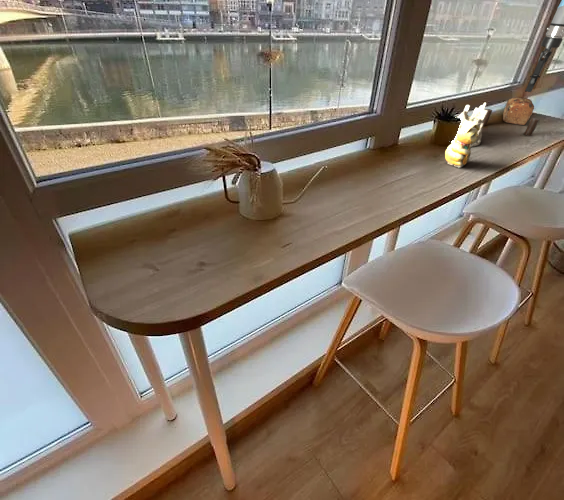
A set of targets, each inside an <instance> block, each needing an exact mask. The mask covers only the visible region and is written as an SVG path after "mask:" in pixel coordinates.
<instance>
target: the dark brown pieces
mask: <svg viewBox="0 0 564 500" xmlns="http://www.w3.org/2000/svg"><path fill="white" fill-rule="evenodd" d="M485 110H488V111H487V113H486V116H485V119H484V123H483V127H486V126H487V125H488V122H489V120H490V118H491V115H492V113H493V110H492V109H491V108H485ZM539 122H540V118H537V117H532V118H531V119H530V121H529V123H528V125H527V126H526V128H525V131H524V133H523V135H524V136H527V137H531V136H533V134H534V132H535V129H536V128H537V125H538V124H539Z"/></svg>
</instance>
